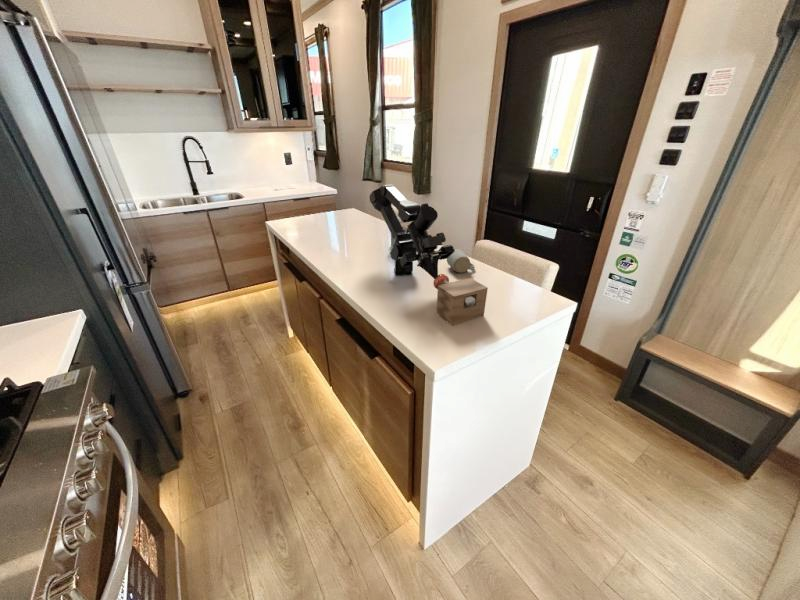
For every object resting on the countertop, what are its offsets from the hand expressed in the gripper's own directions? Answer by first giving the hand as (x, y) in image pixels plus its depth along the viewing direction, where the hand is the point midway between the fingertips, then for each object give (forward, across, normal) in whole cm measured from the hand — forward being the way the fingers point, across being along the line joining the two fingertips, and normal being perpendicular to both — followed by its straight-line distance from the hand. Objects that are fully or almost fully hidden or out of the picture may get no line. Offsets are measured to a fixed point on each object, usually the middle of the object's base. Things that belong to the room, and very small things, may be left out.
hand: (436, 278), depth 106 cm
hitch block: (+14, 0, -5) cm, 15 cm away
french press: (-31, +12, +41) cm, 53 cm away
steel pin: (+9, 0, -5) cm, 11 cm away
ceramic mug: (-6, +22, +16) cm, 28 cm away
